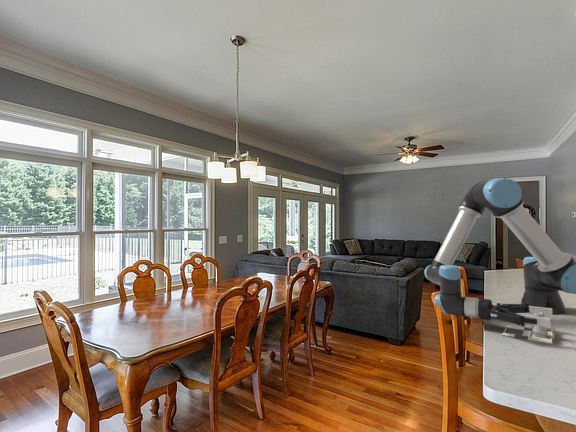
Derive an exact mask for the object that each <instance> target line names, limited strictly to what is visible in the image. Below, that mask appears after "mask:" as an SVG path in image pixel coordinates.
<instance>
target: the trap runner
mask: <svg viewBox="0 0 576 432" xmlns="http://www.w3.org/2000/svg"><path fill="white" fill-rule="evenodd" d="M510 328H511V330H517V331H522V334H514V333H510V332H508V333H507V332H506V331H507V329H510ZM532 329H533V328H528V327H523V326H515V325H510V324H507V325H506V326H505V328H504V330H503V332H502V334H501V336H502V335H505V336H504V337H508V336H511V337H510V338H514V337H516V338H515V339H520V338H521V339H522V340H527V341H532V342H533V341H534V342H538V343H539V342H540V343H546V344H552V345H555V340H556V327H552V331H548V330H547V332H548V337H547V338H540V337H536V336H534V335H533V334H532V333H533V331H532Z"/></svg>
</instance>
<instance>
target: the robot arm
mask: <svg viewBox="0 0 576 432" xmlns="http://www.w3.org/2000/svg"><path fill="white" fill-rule="evenodd" d="M522 193H523V191H522V187H521V186H520V185H519V184H518V182H517V181H515V180H513V179H511V178H509V177H495V178H493V179H489V180H484V181H479V182H476V183H475V184H473V185H472V186H471V187H470V188H469V189H468V190H467V192H466V193H465V195H464V196H463V198H462V200H461V202H460V204H459V206H458V208H457V209H458V213H457V215H456V217H455V219H454V221H453V223H451V224H452V225H451V227H450V229H449V230H448V232H447V234H446V236H445V238H444V240H443V242H442V244H441V245H440V248H439V250H438V252H437V254H436V256H435V257H434V260H433V261H432V263H431V264H429V265H427V266H426V267H425V269H424V271H423V273H424V276H425V278H426V279H427V280H428V281H429V282H431V283H432V284H435V285H438V286H439V287H440V289H439V290H440V292H439V293H437V294H436V295H435V297H434V307H435V306H437V305H439V307H440V308H441V310H442V312H443V313H442V314H446V315H450V316H451V315H452V316H457V317H458V316H459V317H467V318H470V319H471V320H472V319H480V320H486V321H487V320H488V321H491V320H492V319H493V320H499V321H503V322H506V323H509V324H513V325H517V326H520V327H526V325H530V326H535V325H536V326H543V327H545V328H552V325H551V318H553V314H557V315H558V314H559V315H560V314H564V313H565V312H566V306H565V303H564V300H563V299H562V297H561V294H560V292H564V293H566V294H573V295H576V260H575V259H574V258H573V257H572V255H571V254H570V253H568V252H564V251H561V250H560V248H559V247H558V246H557V245H556V244H555V242H554V241H553V240H552V239H551V237H549V235H548V234H547V233H546V231H545V230H544V229H543V227H541V225H539V223H538V222H537V220H535V218H534V217H533V216H532V215H531V214H530V213H529V211H527V209H526V208H525V207H524V203H525V200H524V199H523V198H522V197H523V195H522ZM486 210H488V211H489V212H490V213H491V215H492V216H493V217H494V218H498V219H499V218H500V219H501V220H502V221H503V222H504V224H506V226H507V227H508V229H510V231H511V232H512V233H513V234H514V236H515V237H516V238H517V239H518V240H519V241H520V243H521V244H522V245H523V246H524V248H525V249H526V250H527V251H528V252H529V253H530V254H531V255H532V256H526V257H524V258H523V260H522V267H523V282H524V292H523V295H522V296H521V301H520V303H501V302H500V303H499V302H498V303H497V302H496V305H494V304H493V301H492V300H491V299H487V298H478V297H472V296H471V297H470V296H462V279H461V277H462V273H461V269H460V267H459V266H458V265H456V264H455V265H453V264H454V263H455V261H456V259H457V258H458V255H459V253H460V252H461V250H462V248H463V246H464V244H465V242H466V240H467V238H468V236H469V234H470V233H471V231H472V228H473V227H474V226H475V223H476V221H477V219H479V218H481V217H482V215H483V213H484V212H485V211H486ZM435 304H436V305H435ZM535 311H536V312H537V311H539V313H540V312H542V313H544V315H545V317H544V318H542V317H534V315H533V314H534V312H535ZM521 314H525V315H521ZM526 314H529V315H526ZM549 317H551V318H549Z"/></svg>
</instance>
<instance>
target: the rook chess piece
mask: <svg viewBox="0 0 576 432" xmlns="http://www.w3.org/2000/svg"><path fill="white" fill-rule="evenodd" d="M532 316H534V317H542V318H546V316H545V315H544V313H542V312H540V313H539V311H537V312H536V311H535V312H534V314H532ZM533 326H534V327H533V328H531V329H532V331H533V332H532V333H531V335H532V334H533V335H534V336H536V337H540V338H547V337H548V332H547V331H548V330H547V328H546V327H543V326H536V325H533Z"/></svg>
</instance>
